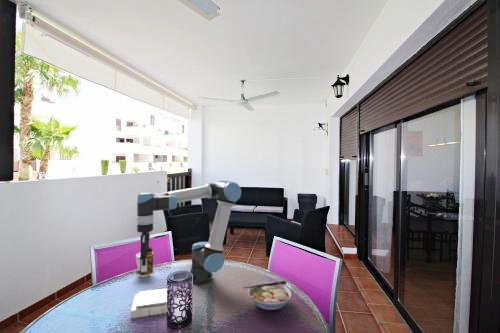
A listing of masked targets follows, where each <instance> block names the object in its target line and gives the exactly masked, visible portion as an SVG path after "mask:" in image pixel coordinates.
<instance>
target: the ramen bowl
mask: <svg viewBox="0 0 500 333" xmlns="http://www.w3.org/2000/svg"><path fill="white" fill-rule="evenodd" d="M287 284H288V283H287V282H286V280H283V281H282V280H281V281H276V282H274V281H260V282H256V283H254V284H252V285H250V286H245V287H243V289H248V290H247V292H248V294H247V295H248V296H249V298H250V300H251V302H253V304H255V305H256V306H258V308H261V309H263V310H268V311H270V310H271V311H272V310H278V309H281V308H283V307H284V306H285V305H286V304H287V303H288V302H289V301H290V299H291V296H292V292H291V289H290V288H288V286H286V285H287Z"/></svg>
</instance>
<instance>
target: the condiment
mask: <svg viewBox="0 0 500 333" xmlns="http://www.w3.org/2000/svg"><path fill="white" fill-rule="evenodd" d="M140 257H141V255H140ZM134 273H135V277H136V278H137V277H140V276H143V275H148V274H149V275H152V274H155V271H154V252H153V248H152V247H150V246H149V247H147V271H146V272H141V259H140V270H138V269H137V270H134ZM149 275H148V276H149Z"/></svg>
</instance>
